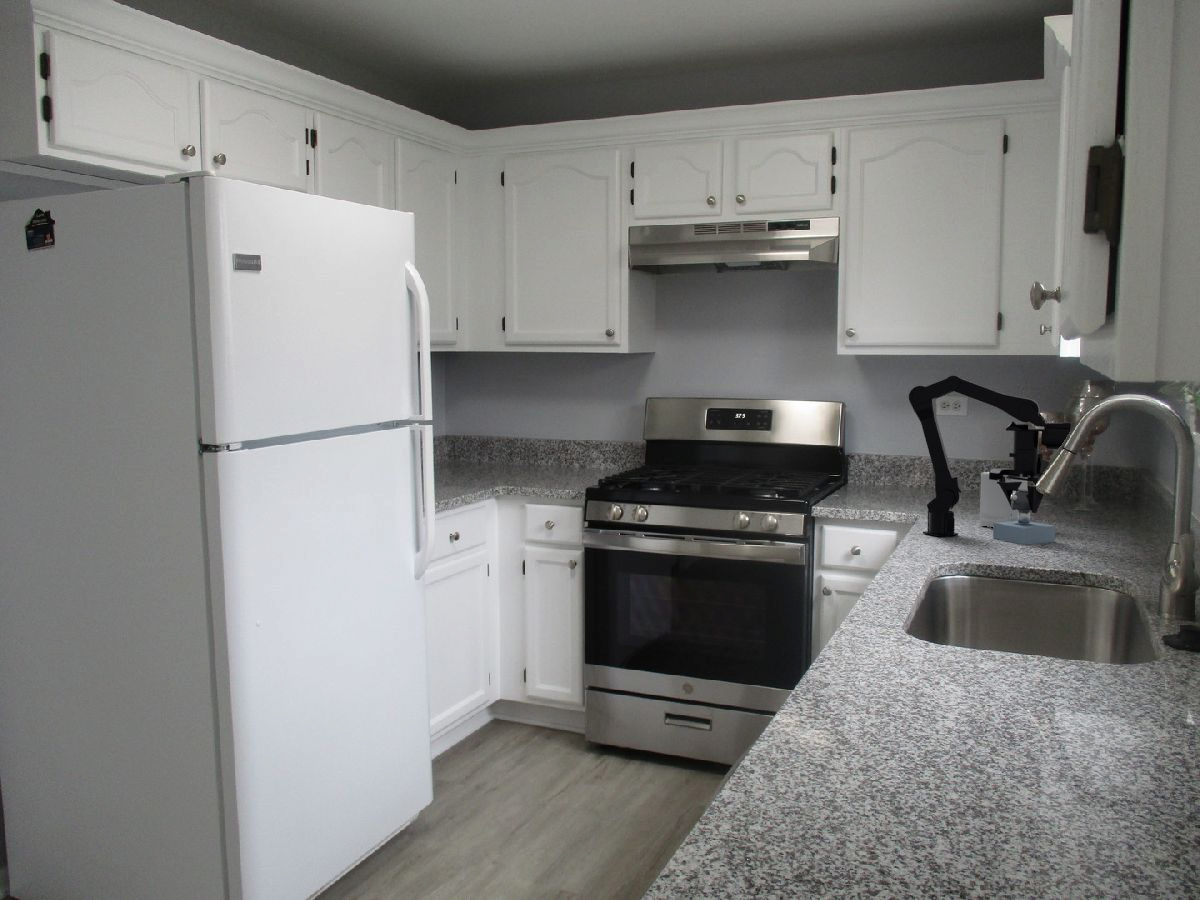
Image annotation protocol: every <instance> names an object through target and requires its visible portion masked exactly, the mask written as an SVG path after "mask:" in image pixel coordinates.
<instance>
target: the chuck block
mask: <svg viewBox="0 0 1200 900" xmlns="http://www.w3.org/2000/svg"><path fill="white" fill-rule="evenodd" d="M992 529H993V532H992V538H994V540H998V539H999V541H1003V540H1004V542H1009V543H1012V544H1013V543H1014V544H1018V545H1025V546H1026V545H1034V544H1035V545H1037V544H1047V543H1055V542H1056V525H1052V524H1046V523H1041V522H1040V523H1039V522H1035V521H1030V523H1018V521H1012V522H999V523H994V524H993V528H992Z"/></svg>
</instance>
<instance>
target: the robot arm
mask: <svg viewBox="0 0 1200 900" xmlns="http://www.w3.org/2000/svg"><path fill="white" fill-rule="evenodd" d="M953 392H955V393H958V394H960V395H964V396H966V397H969V398H970V399H974V400H977V401H980V402H982V403H983V404H987V405H990V406H993V407H995V408H998V409H999V410H1001V411H1002V412H1004V413H1005V414H1007V415H1009V416H1010V417H1012V418H1015V419H1016V420H1018V421H1020V422H1022V423H1016V421H1014V420H1013V421H1011V422H1010V424H1009V425H1008V426H1007V427H1005V431H1007V432H1009V431H1010V432H1013V442H1012V443H1013V446H1012V447H1013V449H1012V450H1013V451H1012V452H1009V457H1010V458H1012V468H1007V467H1000V468H999V467H998V468H991V470H990V471H988V472H989V479H990V480H999V482H997V484H999V485H1000V487H1001V489H1002V490H1003V492H1004V494H1005V496H1006V498H1007V500H1008V502H1009V504H1010V506H1011V498H1010V496H1011V494H1012V490H1018V488H1019V487H1020V485H1021V484H1022V482H1020V481H1016V480H1024V481H1027V482H1033V485H1027V490H1028V494H1029V500H1030V507H1031V510H1030V512H1031V513H1032V514H1036V513H1037V512H1038V510H1039V507H1040V504H1041V502H1042V500H1043V498H1044V496H1045V494H1044V495H1043V494H1041V493H1039V492H1038V491H1037V490H1036V487H1035V485H1036V483H1037V481H1038V479H1039V478H1040V477H1041V475H1042V474H1043V472H1044V471H1045V469H1046V468H1047V466H1048V465H1049V463H1051V462H1049V461H1047V460H1045V459H1044V455H1043V453H1040V452H1039V440H1040V441H1041V446H1044V447H1045V449H1046V450H1047V451H1048V450H1050V451H1058V450H1057V449H1058V448H1059V447H1060V446H1061V445H1062V443H1063V442H1064V440H1065V439H1066V437H1067V435H1068V434H1069V432H1070V431H1071V432H1072V423H1071V422H1070V421H1069V422H1047V419H1046V418H1044V417H1043V415H1042V414H1041V413H1040V412H1041V407H1040V405H1039V403H1038V402H1037V401H1036V400H1035V399H1032V398H1027V397H1023V396H1017V395H1010V394H1006V393H1002V392H999V391H996V390H994V389H991V388H989V387H986V386H984V385H980V384H977V383H975V382H972V381H970V380H968V379H964V378H962V377H961V376H959V375H950V376H948V377H947V378H944V379H942V380H939V381H937V382H935V383H932V384H929V385H917V386H915V387H913V388H912V389H911V390H910V391H909V393H908V400H909V403H910V405H911V408H912V409H913V411H914V413H915V415H916V416H917V418H918V420H919V422H920V425H921V428H922V432H923V436H924V440H925V442H926V446H927V450H928V454H929V457H930V461H931V465H932V468H933V472H934V490H935V497H934V498H933V499H931V500H930V501H929V502H928V503H927V504H926V509H928V510H927V530H925V531H924V530H923V531H922V534H924V535H928V534H929V536H930V535H931V536H933V535H934V537H938V536H943V537H952V536H953V535H955V536H959V532H955V523H956V522H955V520H956V519H955V512H954V511H953V509H954V507H955V506H956V505H957V504H958V503H959V502H960V501H961V500H962V498H963V491H965V488H964V487H963V484H962V478H961V474H957V475H955V474H954V473H953V471H952V469H951V465H950V462H949V459H948V455H947V452H946V446H945V445H944V441H943V437H942V434H941V429H940V426H939V422H938V419H937V399H939V398H941V397H944V396H947V395H949V394H950V393H953ZM1023 423H1025V424H1023ZM1026 423H1027V424H1026ZM1029 423H1031V424H1032V425H1034V426H1035V427H1038V428H1031V427H1030V424H1029ZM1039 427H1041V428H1039ZM1042 427H1043V428H1042ZM1040 432H1041V435H1040ZM1040 436H1041V439H1039V437H1040ZM1012 510H1016V509H1012Z"/></svg>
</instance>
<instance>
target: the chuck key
mask: <svg viewBox="0 0 1200 900" xmlns="http://www.w3.org/2000/svg"><path fill="white" fill-rule="evenodd" d="M1010 498H1011V509H1016V510H1018V523H1030V522H1031V507H1030V500H1029V494H1028V489H1027V490H1012V494H1011V496H1010Z"/></svg>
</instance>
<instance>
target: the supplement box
mask: <svg viewBox="0 0 1200 900" xmlns="http://www.w3.org/2000/svg"><path fill="white" fill-rule="evenodd" d="M989 472H990V471H984V472H981V474H980V497H979V498H980V500H979V526H980V525H981V526H980V527H983V526H987V527H986V528H991V527H993V524H994V523H999V522H1012V521H1018V510H1012V509H1011V506H1010V504H1009V502H1008V500H1007V498H1006V496H1005V494H1004V492H1003V490H1002V489H1001V487H1000V485H999V484H997V482H999V480H990V479H989ZM1016 481H1020V482H1022V484H1021V485H1020V487H1019V488H1018V490H1028V487H1027V486H1028V481H1024V480H1016Z"/></svg>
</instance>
